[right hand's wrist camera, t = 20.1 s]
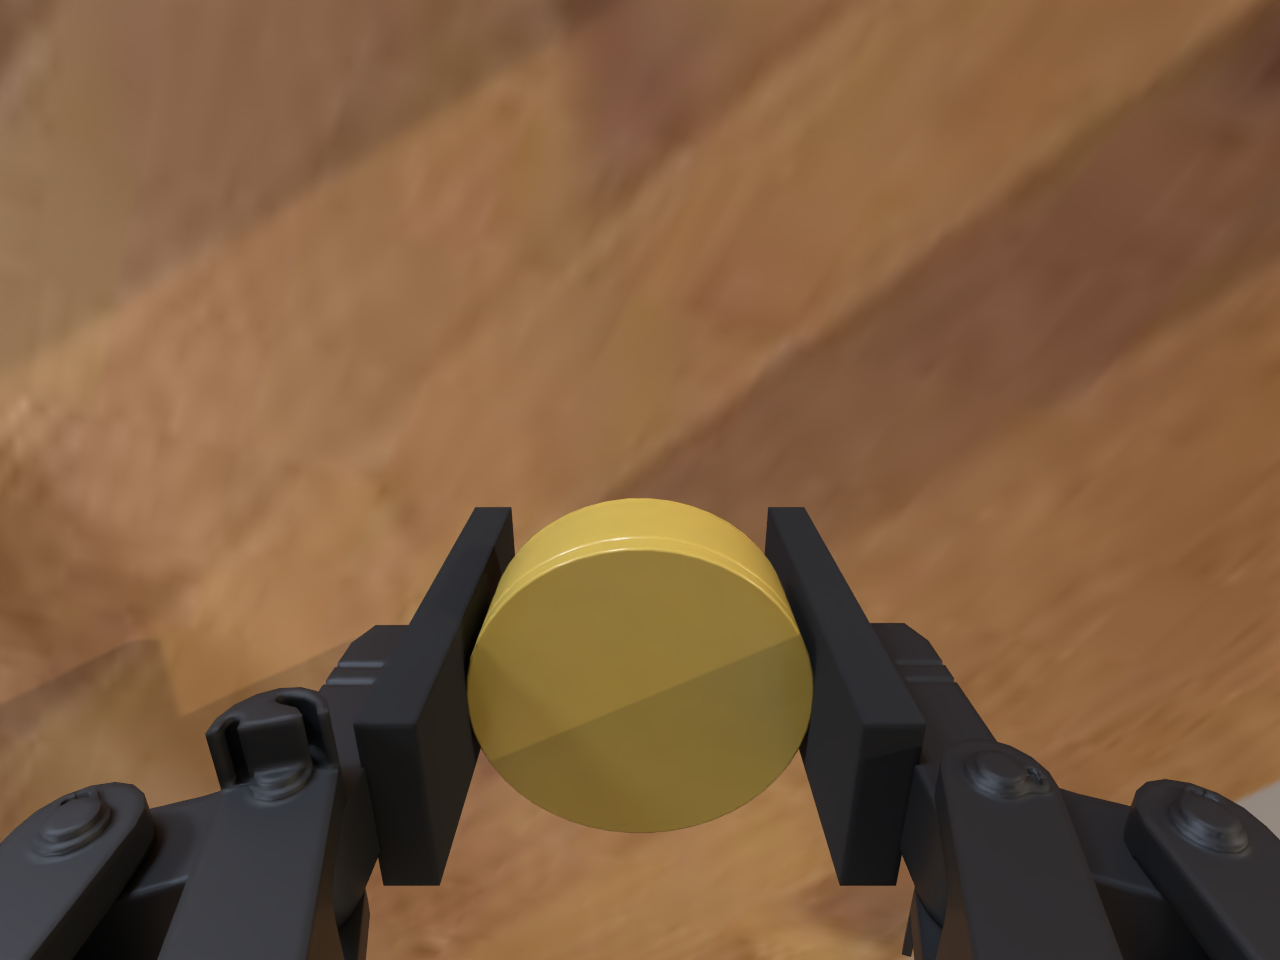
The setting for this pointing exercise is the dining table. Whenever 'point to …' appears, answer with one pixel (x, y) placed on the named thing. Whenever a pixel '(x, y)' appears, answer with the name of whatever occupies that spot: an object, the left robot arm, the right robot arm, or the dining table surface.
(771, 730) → the lid
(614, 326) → the dining table surface
